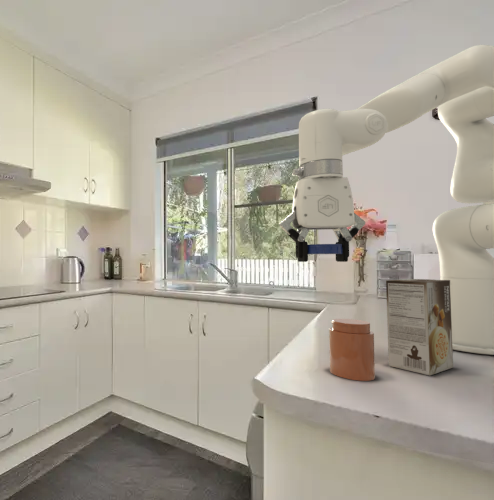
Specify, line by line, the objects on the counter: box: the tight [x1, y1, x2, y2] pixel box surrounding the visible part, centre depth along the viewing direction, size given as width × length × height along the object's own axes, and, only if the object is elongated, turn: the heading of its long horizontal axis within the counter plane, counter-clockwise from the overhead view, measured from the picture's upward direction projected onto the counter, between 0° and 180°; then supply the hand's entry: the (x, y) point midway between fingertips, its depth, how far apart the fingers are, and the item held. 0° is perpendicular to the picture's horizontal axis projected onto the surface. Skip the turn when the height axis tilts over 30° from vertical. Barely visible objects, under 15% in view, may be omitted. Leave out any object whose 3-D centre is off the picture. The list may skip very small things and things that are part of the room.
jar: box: [328, 318, 376, 382], centre depth 58 cm, size 6×6×9 cm
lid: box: [308, 243, 342, 255], centre depth 67 cm, size 7×7×2 cm
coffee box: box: [385, 278, 454, 376], centre depth 62 cm, size 9×6×16 cm
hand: (322, 260), depth 67 cm, fingers closed on lid, 6 cm apart
